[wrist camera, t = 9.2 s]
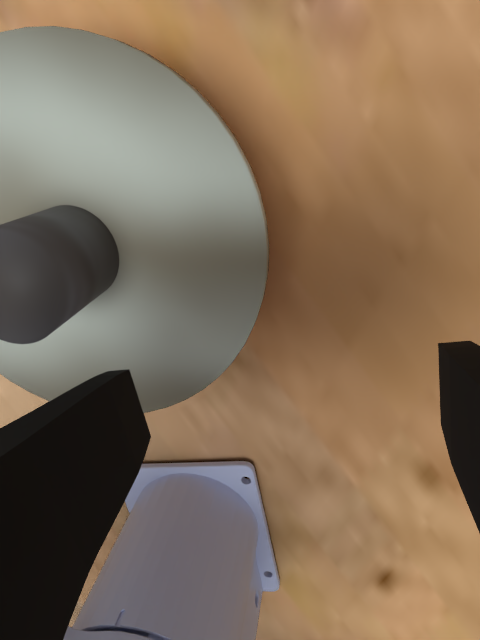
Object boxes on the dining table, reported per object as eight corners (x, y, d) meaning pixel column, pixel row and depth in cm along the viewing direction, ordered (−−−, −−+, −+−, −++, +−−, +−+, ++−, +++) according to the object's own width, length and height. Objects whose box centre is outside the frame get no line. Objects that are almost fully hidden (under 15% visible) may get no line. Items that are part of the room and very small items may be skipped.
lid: (295, 394, 17) (285, 477, 13) (-1, 412, 20) (-80, 484, 16) (225, -26, 12) (174, -91, 8) (-151, 85, 15) (-315, 75, 11)
